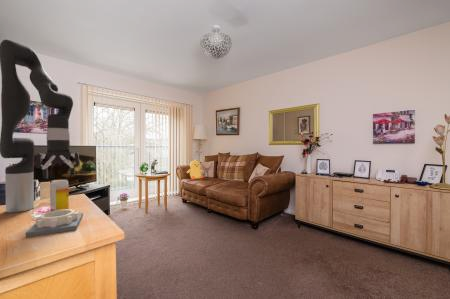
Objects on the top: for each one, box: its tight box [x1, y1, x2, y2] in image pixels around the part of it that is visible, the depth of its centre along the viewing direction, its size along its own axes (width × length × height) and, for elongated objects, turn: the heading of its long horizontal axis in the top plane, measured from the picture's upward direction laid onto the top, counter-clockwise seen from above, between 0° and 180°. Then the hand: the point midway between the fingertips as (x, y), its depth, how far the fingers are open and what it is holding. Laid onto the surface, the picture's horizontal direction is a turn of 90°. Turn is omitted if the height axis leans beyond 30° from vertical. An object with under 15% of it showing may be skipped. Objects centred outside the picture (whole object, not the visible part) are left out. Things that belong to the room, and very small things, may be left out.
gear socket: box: [25, 208, 84, 238], centre depth 77 cm, size 16×14×4 cm
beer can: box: [49, 179, 70, 212], centre depth 88 cm, size 6×6×15 cm
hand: (59, 177), depth 87 cm, fingers open, 8 cm apart
